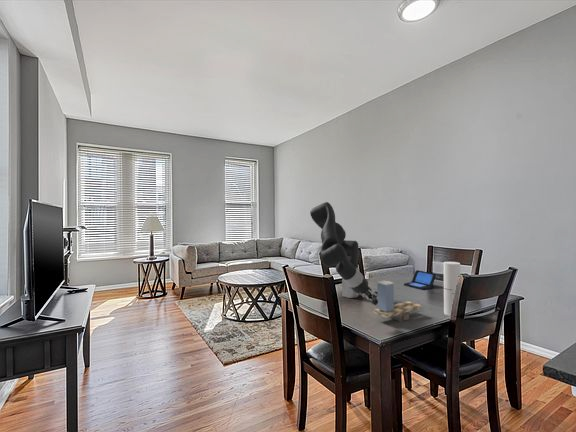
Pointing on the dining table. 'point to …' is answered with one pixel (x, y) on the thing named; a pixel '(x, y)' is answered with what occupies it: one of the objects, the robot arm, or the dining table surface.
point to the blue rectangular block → (385, 295)
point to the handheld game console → (422, 280)
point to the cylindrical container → (450, 284)
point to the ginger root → (399, 311)
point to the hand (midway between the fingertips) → (376, 303)
